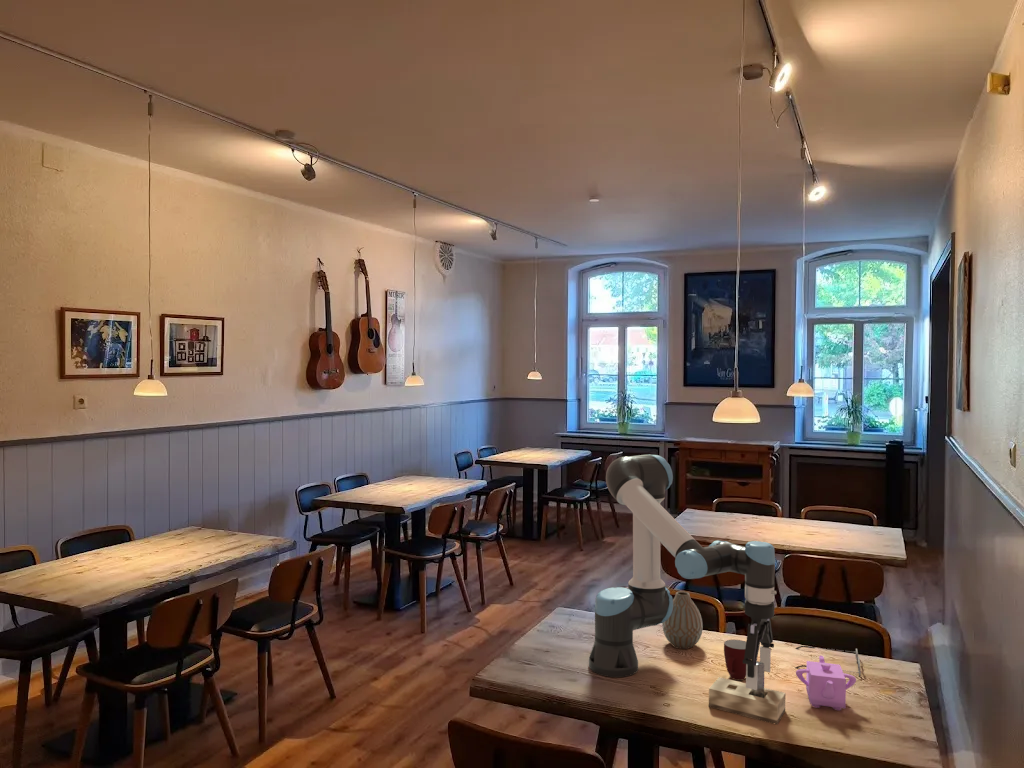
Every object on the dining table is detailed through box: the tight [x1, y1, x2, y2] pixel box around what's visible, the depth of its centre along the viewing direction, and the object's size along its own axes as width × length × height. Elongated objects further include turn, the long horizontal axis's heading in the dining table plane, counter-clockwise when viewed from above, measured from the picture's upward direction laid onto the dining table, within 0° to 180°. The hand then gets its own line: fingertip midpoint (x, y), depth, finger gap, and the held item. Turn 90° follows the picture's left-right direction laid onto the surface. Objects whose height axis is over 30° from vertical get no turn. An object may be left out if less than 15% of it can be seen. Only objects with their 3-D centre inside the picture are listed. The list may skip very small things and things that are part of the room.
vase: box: [661, 590, 704, 650], centre depth 243 cm, size 13×13×18 cm
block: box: [708, 676, 786, 725], centre depth 197 cm, size 18×9×5 cm, turn 57°
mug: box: [723, 639, 751, 681], centre depth 216 cm, size 11×8×10 cm
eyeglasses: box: [794, 645, 862, 677], centre depth 230 cm, size 18×19×4 cm
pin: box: [752, 660, 765, 698], centre depth 195 cm, size 3×3×12 cm
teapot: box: [795, 655, 857, 711], centre depth 201 cm, size 15×13×11 cm
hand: (758, 679), depth 195 cm, fingers open, 13 cm apart
